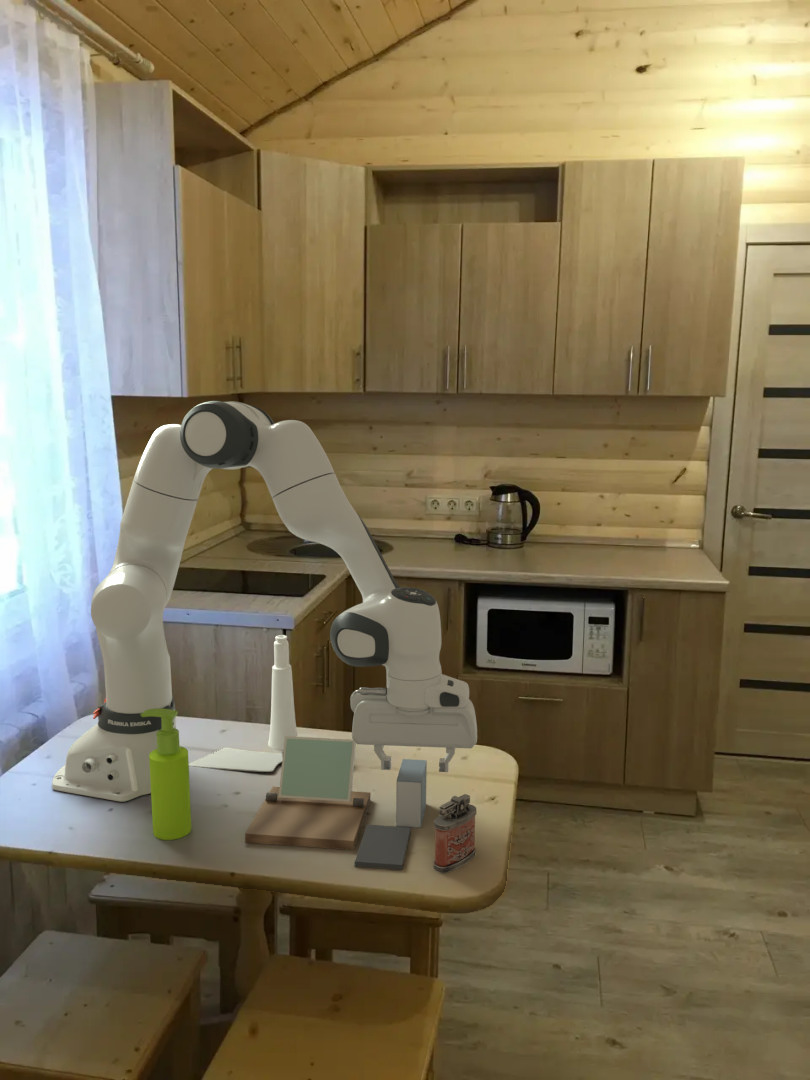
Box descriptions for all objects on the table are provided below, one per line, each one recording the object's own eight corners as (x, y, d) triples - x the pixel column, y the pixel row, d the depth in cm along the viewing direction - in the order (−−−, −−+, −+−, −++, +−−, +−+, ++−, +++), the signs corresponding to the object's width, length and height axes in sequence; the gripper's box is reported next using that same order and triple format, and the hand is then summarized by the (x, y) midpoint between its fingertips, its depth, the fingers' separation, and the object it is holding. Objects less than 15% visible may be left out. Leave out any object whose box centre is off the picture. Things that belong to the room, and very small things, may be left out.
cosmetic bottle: (272, 738, 177) (269, 631, 173) (302, 739, 177) (300, 632, 173) (264, 751, 171) (261, 640, 167) (295, 752, 171) (293, 641, 167)
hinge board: (245, 842, 138) (244, 825, 138) (272, 794, 154) (272, 779, 153) (353, 850, 136) (353, 833, 136) (370, 800, 152) (370, 785, 151)
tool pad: (354, 866, 132) (354, 861, 131) (367, 829, 142) (367, 824, 142) (401, 869, 131) (401, 864, 131) (410, 832, 142) (410, 827, 141)
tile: (280, 797, 149) (278, 797, 148) (286, 736, 152) (284, 735, 151) (351, 802, 147) (349, 801, 146) (356, 740, 151) (355, 739, 149)
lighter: (463, 846, 137) (464, 786, 135) (480, 854, 135) (482, 793, 133) (428, 867, 132) (428, 804, 130) (445, 876, 129) (446, 812, 127)
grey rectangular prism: (396, 826, 143) (396, 780, 142) (402, 803, 151) (402, 758, 150) (421, 828, 143) (421, 781, 141) (426, 804, 151) (426, 760, 149)
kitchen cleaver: (175, 760, 165) (201, 739, 174) (176, 769, 165) (202, 747, 174) (336, 774, 157) (353, 751, 166) (336, 783, 157) (354, 759, 166)
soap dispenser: (156, 819, 145) (150, 702, 141) (197, 823, 144) (192, 705, 140) (140, 837, 139) (133, 716, 136) (182, 841, 138) (176, 719, 135)
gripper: (346, 694, 141) (348, 775, 144) (476, 697, 139) (476, 780, 141) (353, 680, 147) (355, 758, 150) (477, 683, 145) (477, 763, 148)
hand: (415, 769), depth 146 cm, fingers open, 8 cm apart
